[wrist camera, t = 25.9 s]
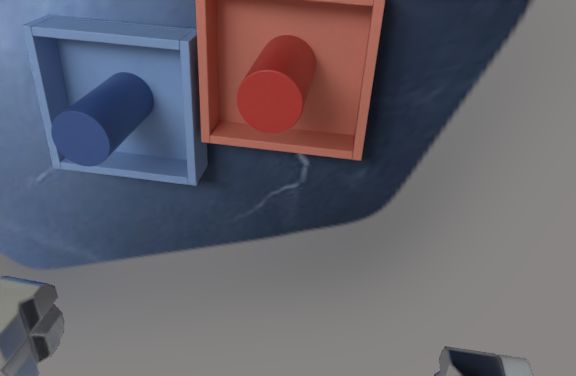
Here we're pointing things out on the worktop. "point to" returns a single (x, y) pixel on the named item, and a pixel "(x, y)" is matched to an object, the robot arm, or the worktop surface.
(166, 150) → the blue bin
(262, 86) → the red peg
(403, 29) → the worktop surface
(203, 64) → the red bin
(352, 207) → the worktop surface
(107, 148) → the blue peg
